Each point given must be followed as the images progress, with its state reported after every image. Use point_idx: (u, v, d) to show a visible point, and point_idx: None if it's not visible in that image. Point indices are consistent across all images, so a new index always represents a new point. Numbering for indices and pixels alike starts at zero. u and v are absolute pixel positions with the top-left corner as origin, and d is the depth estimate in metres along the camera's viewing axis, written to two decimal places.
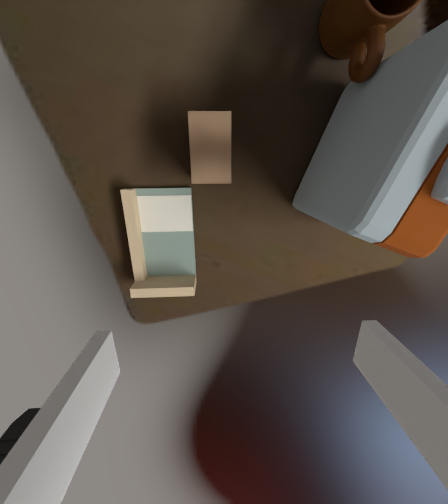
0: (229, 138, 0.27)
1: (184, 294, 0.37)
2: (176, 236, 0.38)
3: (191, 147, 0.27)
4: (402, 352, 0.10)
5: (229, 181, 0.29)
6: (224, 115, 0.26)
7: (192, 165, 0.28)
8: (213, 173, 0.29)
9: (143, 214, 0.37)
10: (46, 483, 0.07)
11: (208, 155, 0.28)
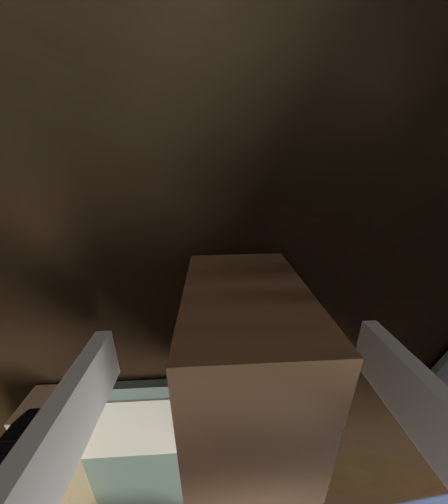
0: (336, 432, 0.07)
1: None
2: (156, 460, 0.18)
3: (184, 461, 0.07)
4: (402, 352, 0.10)
5: None
6: (330, 373, 0.06)
7: (189, 498, 0.08)
8: None
9: None
10: (46, 483, 0.07)
11: (247, 474, 0.07)
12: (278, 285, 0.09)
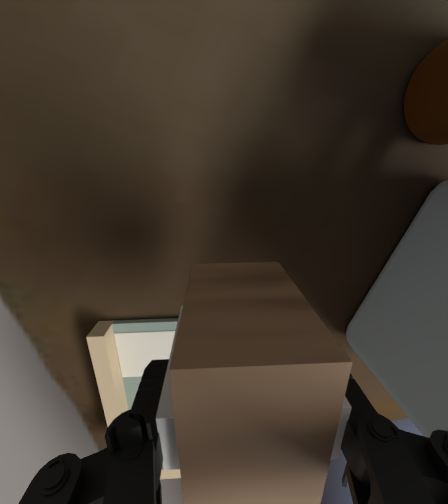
0: (329, 433, 0.07)
1: None
2: None
3: (185, 461, 0.07)
4: None
5: None
6: (322, 375, 0.06)
7: (189, 498, 0.08)
8: None
9: (124, 355, 0.25)
10: None
11: (245, 474, 0.08)
12: (275, 293, 0.10)
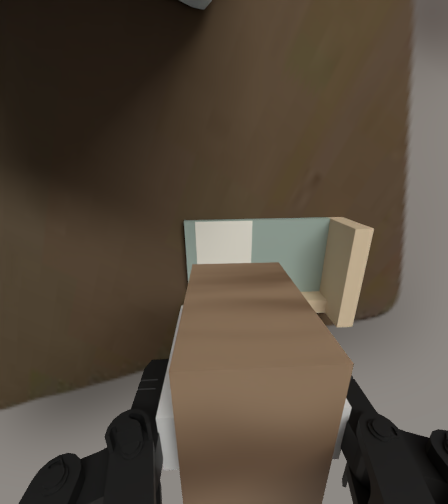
0: (330, 435, 0.07)
1: (366, 246, 0.20)
2: (260, 246, 0.24)
3: (185, 463, 0.07)
4: None
5: None
6: (323, 377, 0.06)
7: (189, 501, 0.08)
8: None
9: None
10: None
11: (245, 477, 0.08)
12: (275, 294, 0.10)
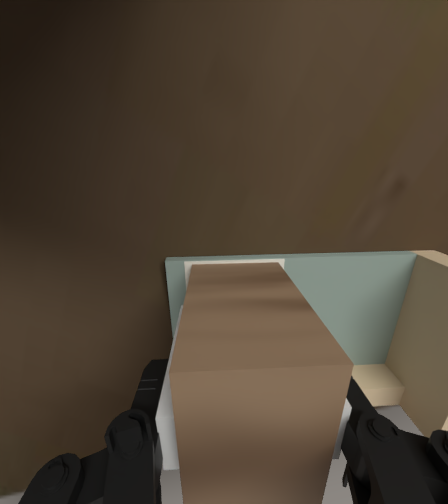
0: (330, 435, 0.07)
1: None
2: None
3: (185, 464, 0.07)
4: None
5: None
6: (323, 378, 0.06)
7: (189, 501, 0.08)
8: None
9: None
10: None
11: (245, 477, 0.08)
12: (275, 294, 0.10)
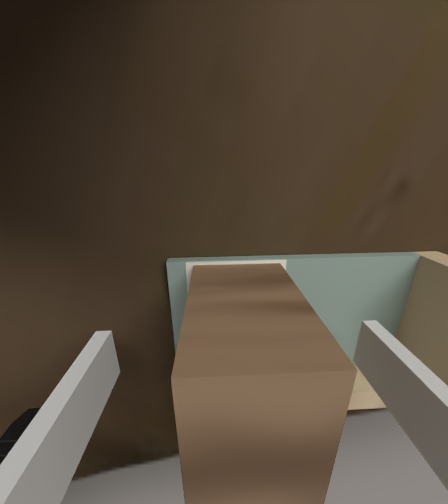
0: (333, 440, 0.07)
1: None
2: None
3: (187, 468, 0.07)
4: (402, 352, 0.10)
5: None
6: (326, 383, 0.06)
7: None
8: None
9: None
10: (46, 483, 0.07)
11: (247, 480, 0.08)
12: (277, 296, 0.10)
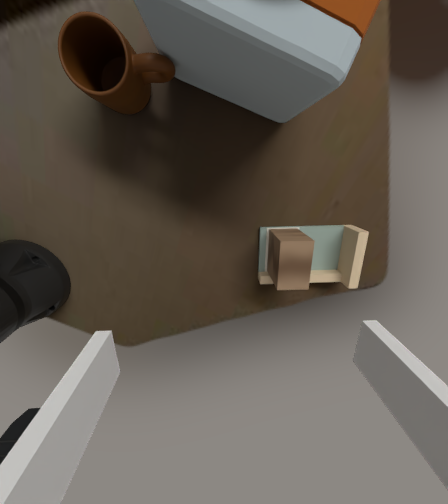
0: (311, 258, 0.34)
1: (365, 241, 0.37)
2: None
3: (280, 265, 0.34)
4: (402, 352, 0.10)
5: (307, 288, 0.36)
6: (309, 243, 0.33)
7: (279, 277, 0.35)
8: (295, 282, 0.36)
9: None
10: (46, 483, 0.07)
11: (292, 270, 0.35)
12: (298, 233, 0.37)
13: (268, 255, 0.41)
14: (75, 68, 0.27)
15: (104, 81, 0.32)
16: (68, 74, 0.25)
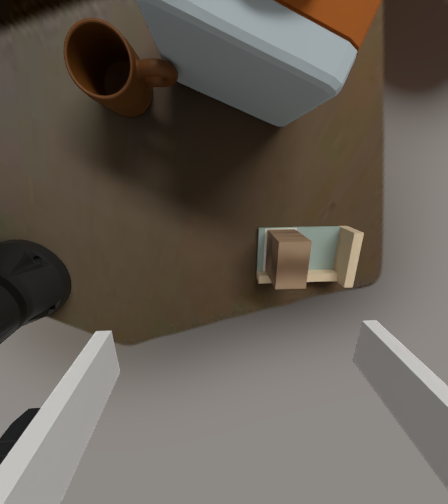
0: (308, 258, 0.35)
1: (360, 242, 0.38)
2: None
3: (278, 265, 0.35)
4: (402, 352, 0.10)
5: (304, 287, 0.37)
6: (306, 244, 0.34)
7: (277, 277, 0.36)
8: (292, 282, 0.37)
9: None
10: (46, 483, 0.07)
11: (290, 270, 0.36)
12: (295, 234, 0.38)
13: (266, 255, 0.42)
14: (80, 72, 0.27)
15: (106, 84, 0.33)
16: (73, 78, 0.25)
